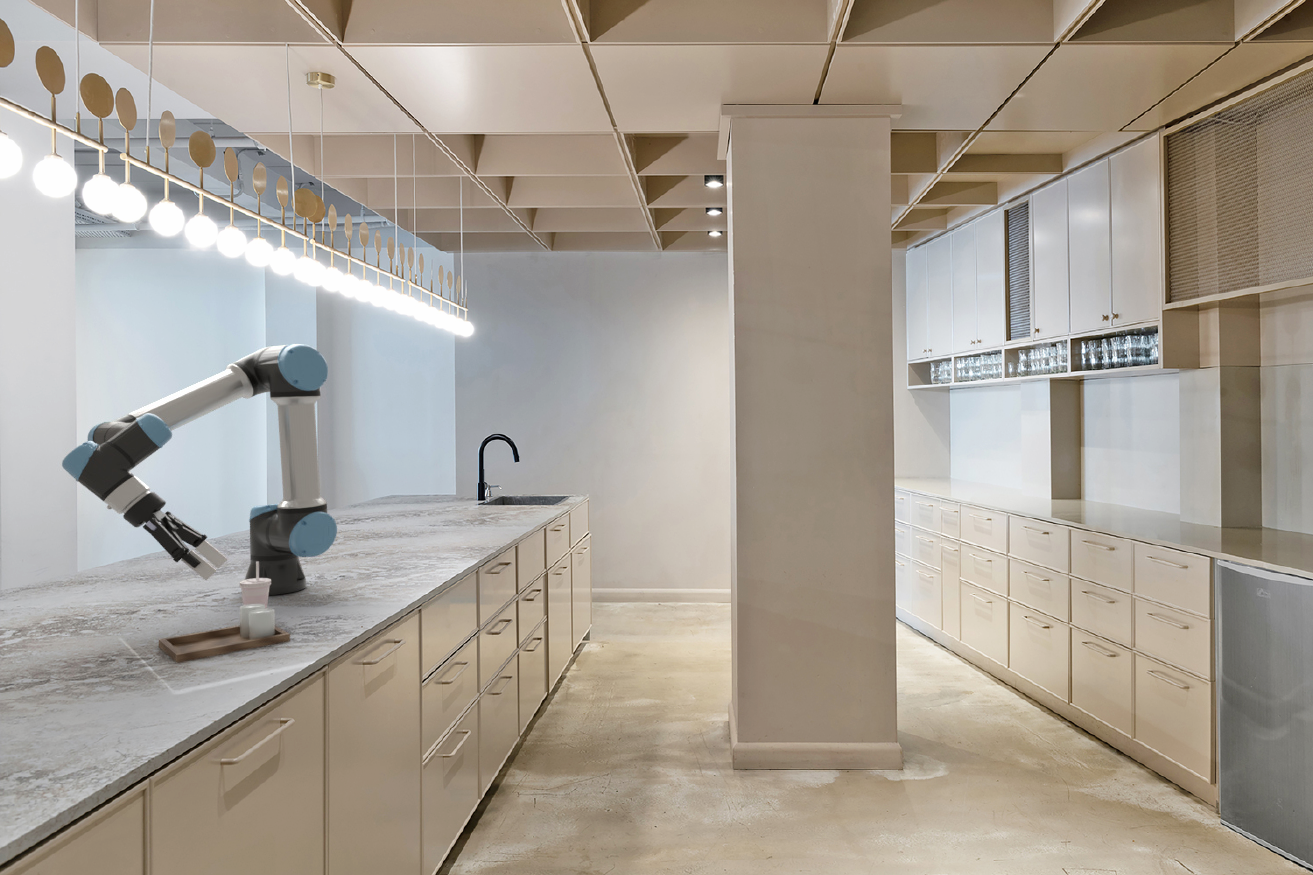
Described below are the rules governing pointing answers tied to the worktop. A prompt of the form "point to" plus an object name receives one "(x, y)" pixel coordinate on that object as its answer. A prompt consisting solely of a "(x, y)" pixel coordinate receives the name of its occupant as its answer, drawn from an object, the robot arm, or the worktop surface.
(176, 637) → the tray
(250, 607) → the white rounded cylinder
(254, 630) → the white domed cylinder
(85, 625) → the worktop surface
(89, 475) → the robot arm
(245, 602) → the smoothie
